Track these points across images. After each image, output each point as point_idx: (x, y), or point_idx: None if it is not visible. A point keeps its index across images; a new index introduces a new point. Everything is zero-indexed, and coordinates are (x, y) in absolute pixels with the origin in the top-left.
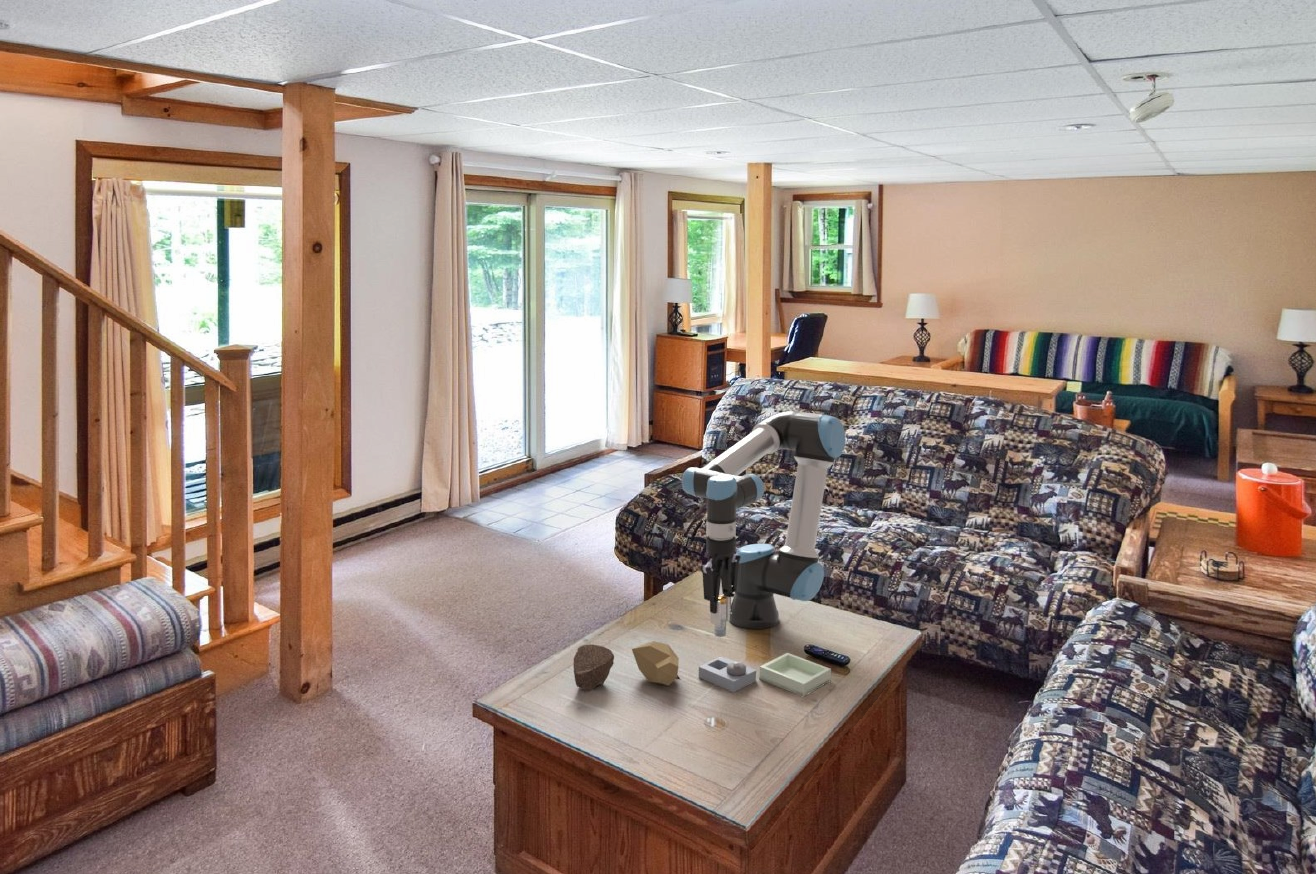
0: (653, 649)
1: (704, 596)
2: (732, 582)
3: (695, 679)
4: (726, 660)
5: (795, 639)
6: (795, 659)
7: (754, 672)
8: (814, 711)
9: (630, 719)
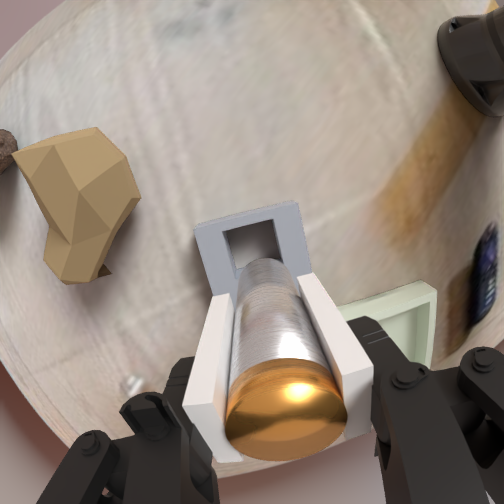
0: (37, 195)
1: (70, 460)
2: (490, 471)
3: (184, 229)
4: (292, 237)
5: (493, 190)
6: (426, 317)
7: None
8: None
9: (23, 303)
